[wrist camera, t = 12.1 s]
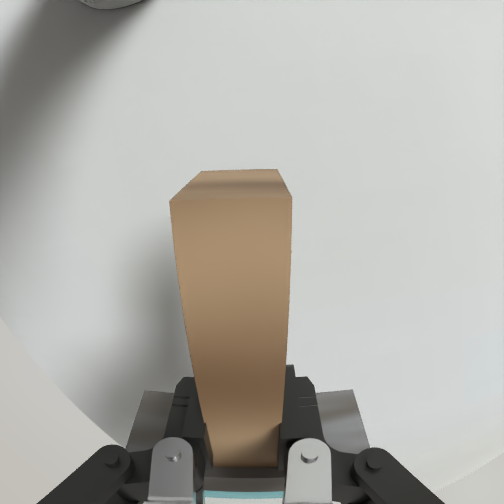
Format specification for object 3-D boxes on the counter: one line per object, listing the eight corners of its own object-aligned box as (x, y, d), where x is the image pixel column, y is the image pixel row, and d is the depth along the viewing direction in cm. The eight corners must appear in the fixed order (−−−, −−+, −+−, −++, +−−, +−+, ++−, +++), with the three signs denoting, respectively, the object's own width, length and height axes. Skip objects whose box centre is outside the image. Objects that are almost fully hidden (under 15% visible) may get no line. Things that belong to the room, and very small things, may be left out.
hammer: (95, 180, 10) (14, 219, 6) (389, 172, 10) (467, 209, 6) (151, 409, 14) (131, 480, 10) (347, 408, 14) (365, 481, 10)
